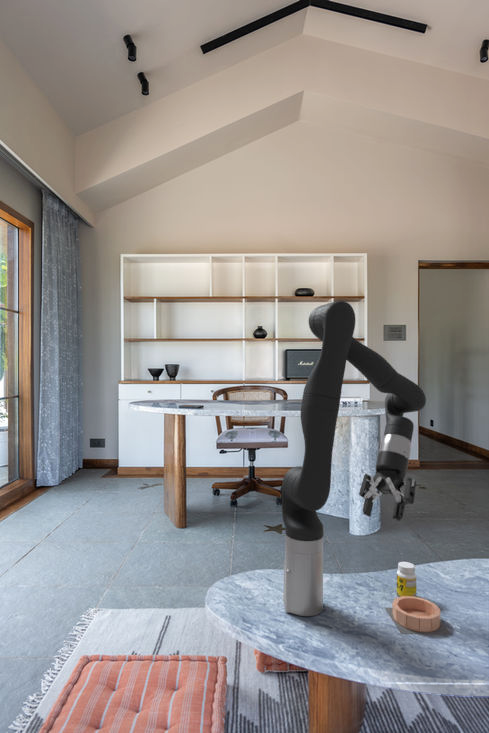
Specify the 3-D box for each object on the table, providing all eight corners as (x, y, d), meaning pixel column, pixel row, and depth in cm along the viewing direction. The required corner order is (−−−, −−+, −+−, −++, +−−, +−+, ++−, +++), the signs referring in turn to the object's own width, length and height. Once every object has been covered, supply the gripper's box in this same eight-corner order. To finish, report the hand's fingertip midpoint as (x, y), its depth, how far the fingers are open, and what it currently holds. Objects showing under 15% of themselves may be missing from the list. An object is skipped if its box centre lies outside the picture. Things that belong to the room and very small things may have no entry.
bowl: (402, 632, 94) (402, 618, 95) (387, 608, 104) (387, 595, 105) (448, 632, 95) (448, 618, 95) (428, 609, 105) (428, 596, 105)
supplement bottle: (393, 593, 113) (393, 560, 113) (411, 593, 113) (410, 560, 113) (401, 603, 108) (401, 568, 108) (419, 602, 108) (419, 568, 109)
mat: (401, 635, 94) (401, 633, 94) (384, 608, 105) (384, 607, 105) (451, 635, 94) (451, 634, 94) (429, 609, 105) (429, 608, 105)
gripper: (362, 449, 116) (348, 508, 110) (410, 449, 105) (398, 515, 98) (379, 460, 120) (366, 519, 113) (427, 462, 109) (416, 526, 102)
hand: (381, 517), depth 106 cm, fingers open, 8 cm apart
